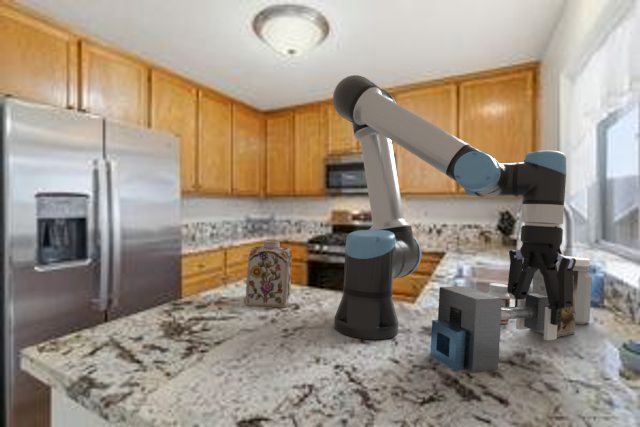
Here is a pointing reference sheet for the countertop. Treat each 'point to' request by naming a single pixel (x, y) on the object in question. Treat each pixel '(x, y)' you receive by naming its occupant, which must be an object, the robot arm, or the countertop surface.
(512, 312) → the shaft
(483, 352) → the block
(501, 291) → the pill bottle
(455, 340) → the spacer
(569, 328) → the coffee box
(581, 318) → the jar
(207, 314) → the countertop surface
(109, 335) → the countertop surface
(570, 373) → the countertop surface
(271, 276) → the decorative jar
